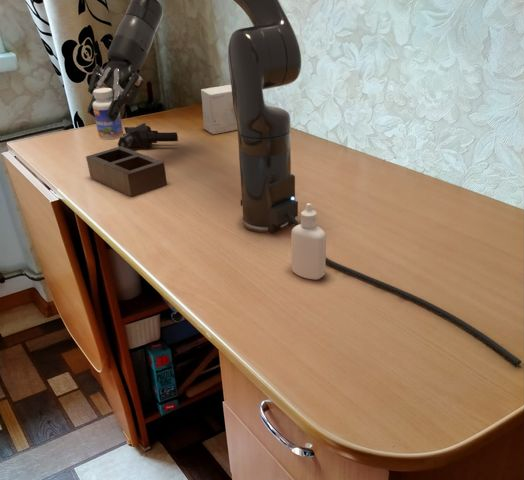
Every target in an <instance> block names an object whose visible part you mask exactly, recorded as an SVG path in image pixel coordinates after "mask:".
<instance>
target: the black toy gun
mask: <svg viewBox="0 0 524 480" xmlns="http://www.w3.org/2000/svg"><path fill="white" fill-rule="evenodd" d="M123 130H124V131H125V133H123V136H122V137H120V138H118V139H119V140H118V143H117V147H120V146H122V147H125V148H128V149H130V148H152V145H153V144H157V143H158V142H179V136H178V132H174V131H173V132H171V131H170V132H159V131H158V130H152V127H150V126H149V125H147V124H146V122H143V123H140V124H138V125H136V126H123Z"/></svg>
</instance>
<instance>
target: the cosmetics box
mask: <svg viewBox="0 0 524 480" xmlns="http://www.w3.org/2000/svg"><path fill="white" fill-rule="evenodd" d="M200 95H201V105H202V106H201V107H202V120H203V129H204V130H205V131H207V132H208V133H210V134H212V135H217V134H222V133H228V132H232V131H233V132H234V131H238V129H237V121H236V117H235V113H234V107H233V97H232V88H231V84H226V85H219V86H213V87H207V88H202V89H201V88H200Z"/></svg>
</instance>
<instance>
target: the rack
mask: <svg viewBox="0 0 524 480" xmlns="http://www.w3.org/2000/svg"><path fill="white" fill-rule="evenodd" d="M85 159H86V163H87V168H88V171H89V172H88V173H89V177H90V179H92V180H95V181H96V182H99V183H101V184H103V185H105V186H107V187H109V188H111V189H114V190H115V191H118V192H120V193H122V194H124V195H126V196H128V197H131V198H133V197H137V196H139V195H142V194H145V193H147V192H150V191H152V190H156V189H159V188H161V187H164V186H167V185H168V181H167V175H166V167H165V163H164V161H161V160H159V159H156V158H154V157H151V156H149V155H146V154H142V153H140V152H138V151H135V150H133V149H130V148H125V147H122V146H120V147H119V146H116V147H113V148H110V149H106V150H103V151H100V152H96V153H93V154H89V155H87V156H85Z"/></svg>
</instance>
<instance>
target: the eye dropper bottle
mask: <svg viewBox="0 0 524 480" xmlns="http://www.w3.org/2000/svg"><path fill="white" fill-rule="evenodd" d="M317 216H318V212H317V211H316V210H314V209H313V206H312V203H311V202H310V203H309V202H308V203H306V204H305V209H304V210H302V211H301V212H300V223H299V225H297V226H295V225H294V227H292V229H291V243H290V245H291V246H290V247H291V252H290V253H291V271H292V272H293V273H294V274H295V275H297V276H299V277H301V278H304V279H306V280H307V279H309V280H315V281H317V280H320V279H321V278H323V277H324V276H325V275H326V265H327V263H326V258H327V235H326V232H325V230H323V229H322V228H321V227H320V226H318V222H317V221H318V217H317Z"/></svg>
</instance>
